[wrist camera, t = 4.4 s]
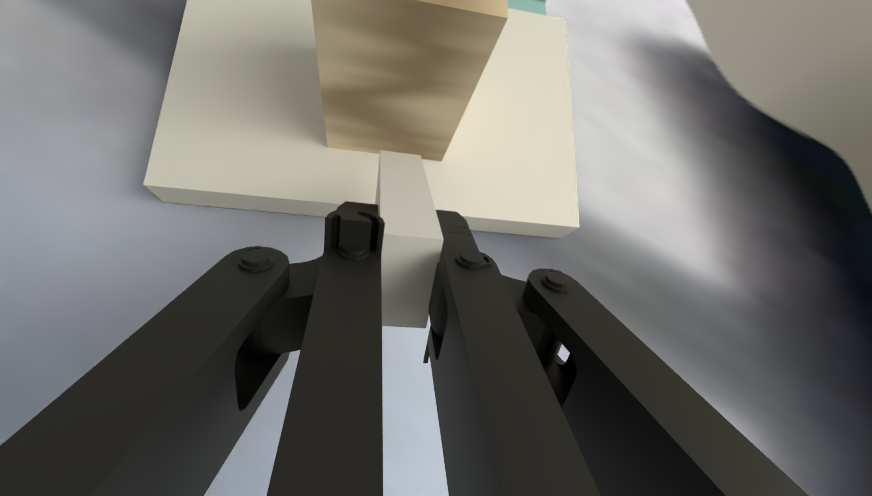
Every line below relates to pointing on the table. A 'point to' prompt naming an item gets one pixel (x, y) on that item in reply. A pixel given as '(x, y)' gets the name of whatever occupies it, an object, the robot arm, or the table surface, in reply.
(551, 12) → the table surface
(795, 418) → the table surface
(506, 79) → the cream board
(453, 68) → the maple block
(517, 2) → the box
